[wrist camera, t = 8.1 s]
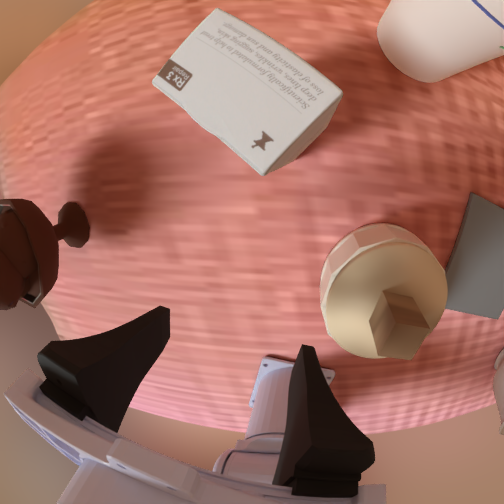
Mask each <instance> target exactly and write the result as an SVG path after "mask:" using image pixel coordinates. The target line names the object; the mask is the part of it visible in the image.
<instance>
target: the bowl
mask: <svg viewBox="0 0 504 504" xmlns="http://www.w3.org/2000/svg"><path fill="white" fill-rule="evenodd" d="M388 242H406V243H410V244H414V245H416V246H419V247H421V248H422V249H424V250H426V251H427V252H428V253H429V254H430V255H432V256H433V257H434V258H435V260H436V261H437V262H438V260H437V259H436V257H435V256H434V254H433V253H432V252H431V250H430V249H429V248H428V246H426V245H425V244H424V243H423V242H422V241H421V240H420V239H419V238H418V237H417V236H416V235H414V234H413V233H411V232H410V231H408V230H406V229H405V228H403V227H400V226H398V225H394V224H390V223H374V224H369V225H365V226H362V227H359V228H357V229H355V230H353V231H351V232H350V233H348V234H347V235H345V236H344V237H343V238H342V239H341V240H339V241H338V242H337V244H336V245H335V246H334V247H333V248H332V250H331V251H330V252H329V254H328V256H327V258H326V260H325V262H324V265H323V267H322V272H321V278H320V305H321V310H322V314H323V317H324V321H325V325H326V329H327V332H328V335H330V336H331V337H332V335H331V333H330V331H329V328H328V324H327V318H326V302H327V296H328V292H329V289H330V287H331V285H332V282H333V281H334V279H335V277H336V276H337V274H338V273H339V272H340V270H341V269H342V268H343V267H344V266H345V265H346V264H347V263H348V262H349V261H350V260H351V259H352V258H353V257H355V256H356V255H358V254H359V253H361V252H362V251H364V250H366V249H368V248H370V247H373V246H376V245H379V244H383V243H388ZM438 263H439V262H438ZM439 264H440V263H439ZM440 266H441V264H440ZM441 268H442V269H443V267H442V266H441ZM443 271H444V274H445V270H444V269H443ZM332 338H333V337H332ZM333 339H334V338H333Z"/></svg>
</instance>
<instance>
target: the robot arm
mask: <svg viewBox="0 0 504 504" xmlns="http://www.w3.org/2000/svg"><path fill="white" fill-rule="evenodd" d="M169 338H170V309H169V308H166V307H163V306H158V307H157V308H155V309H153V310H151V311H149V312H147V313H146V314H144V315H142V316H140V317H138V318H136V319H134V320H132V321H130V322H128V323H126V324H124V325H122V326H119V327H117V328H115V329H112V330H110V331H107V332H104V333H101V334H97V335H93V336H89V337H85V338H80V339H73V340H63V341H51V342H50V343H49V344H48V345H47V346H45V347H44V349H42V350H41V351H40V352H39V353H38V355H37V357H38V362H39V364H40V366H41V368H42V371H43V373H44V374H45V376H46V378H47V379H46V380H45V381H44V382H43V381H42V379H41V378H40V377H38V376H37V375H36V374H35V373H34V372H32V371H31V370H30V369H26V370H25V371H24V372H23V373H22V374H21V375H20V376H19V377H18V379H17V380H16V381H15V382H14V383H13V384H12V385H11V386H10V387H9V388H8V389H7V390H6V391H5V392H4V395H5V397H6V398H7V400H8V401H9V403H10V404H11V405H12V407H13V408H14V409H15V411H16V412H17V413H18V414H19V416H20V417H21V418H22V419H23V420H24V421H25V422H26V423H27V424H28V425H29V426H30V427H31V428H33V429H34V430H35V431H36V432H37V433H38V434H39V435H40V436H42V437H43V438H44V439H45V440H46V441H48V442H49V443H50V444H51V445H52V446H53V447H55V448H56V449H57V450H58V451H60V452H61V453H62V454H64V455H65V456H66V457H68V458H69V459H70V460H72V461H73V462H74V463H76V464H77V465H78V466H79V468H78V470H77V471H76V473H75V474H74V476H73V477H72V479H71V481H70V482H69V484H68V485H67V487H66V489H65V490H64V492H63V493H62V495H61V496H60V498H59V500H58V502H57V503H56V504H386V485H385V484H372V485H362V486H359V487H358V481H360V480H361V473H362V472H363V471H365V470H366V469H367V468H369V467H370V466H371V465H372V464H373V463H374V461H375V452H374V447H373V442H372V441H371V440H370V439H369V438H368V437H366V436H365V435H364V434H363V433H362V432H361V431H360V430H359V429H358V428H357V427H356V426H355V425H354V424H353V422H352V421H351V420H350V419H349V417H348V416H347V415H346V414H345V412H344V411H343V410H342V408H341V407H340V405H339V403H338V402H337V400H336V399H335V397H334V395H333V393H332V391H331V389H330V387H329V385H330V383H331V382H332V380H333V378H334V376H335V371H334V370H330V369H325V368H321V366H320V364H319V361H318V358H317V355H316V351H315V348H314V347H312V346H308V345H303V344H302V346H301V348H300V351H299V354H298V356H297V359H296V361H295V363H294V362H289V361H285V360H280V359H276V358H271V357H263V359H262V362H261V365H260V369H259V372H258V376H257V379H256V382H255V386H254V389H253V392H252V395H251V399H250V402H249V406H250V407H252V408H253V409H252V413H251V417H250V421H249V424H248V428H247V432H246V435H245V439H244V440H237V443H236V447H235V449H227V450H226V451H225V452H223V454H222V455H220V456H219V458H218V459H217V461H216V462H215V465H214V467H213V471H209V470H206V469H203V468H199V467H196V466H193V465H190V464H187V463H184V462H182V461H179V460H176V459H173V458H171V457H168V456H166V455H163V454H161V453H158V452H156V451H153V450H151V449H149V448H146V447H144V446H142V445H140V444H138V443H136V442H133V441H131V440H129V439H127V438H125V437H123V436H121V435H119V434H117V432H118V430H119V427H120V425H121V422H122V420H123V417H124V415H125V413H126V411H127V408H128V406H129V404H130V402H131V400H132V398H133V396H134V394H135V392H136V390H137V388H138V386H139V385H140V383H141V381H142V380H143V378H144V377H145V375H146V374H147V372H148V371H149V370H150V368H151V367H152V365H153V364H154V363H155V361H156V360H157V358H158V357H159V356H160V354H161V353H162V351H163V350H164V348H165V346H166V344H167V342H168V340H169Z"/></svg>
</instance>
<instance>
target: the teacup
mask: <svg viewBox="0 0 504 504" xmlns="http://www.w3.org/2000/svg"><path fill="white" fill-rule="evenodd" d="M494 366H495V369H496V370H497V371H496V373H495V375H494V379H493V391H494V395H495V399H496V403H497V406H498V410H499V414H500V418H501V426H500V429H499V433H500V434H502V435H504V348H503V350H502V351H501V352H500V354H499V355H498V357H497V359H496V361H495V365H494Z"/></svg>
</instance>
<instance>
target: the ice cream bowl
mask: <svg viewBox="0 0 504 504" xmlns="http://www.w3.org/2000/svg"><path fill="white" fill-rule="evenodd" d="M88 235H89V225H88V221H87V218H86V215H85V212H84V211H83V210H82V209H81V208H80V207H79V206H78V205H77V204H76V203H66V204H65V205H64V206H63V207H62V209H61V210H60V211H59V214H58V224H57V225H55V226H52V224H51V222H50V221H49V220H48V219H47V217H46V216H45V215H44V214H43V212H42V211H41V210H40V209H39V208H38V207H37V206H36V205H35V204H34V203H33V202H32V201H29V200H25V199H2V200H0V310H8V309H10V308H13V307H15V306H16V304H17V302H18V300H20V301H22V302H24V303H26V304H28V305H29V306H31V307H33V308H36V306H37V305H38V304H39V303H40V302H41V301H42V299H43V298H44V297H45V296H46V295H47V294H48V292H49V291H50V290H51V289H52V288H53V286H54V284H55V282H56V280H57V277H58V267H59V245H58V241H59V240H61V239H64V240H65V242H66V243H67V244H68V245H69V246H71V247H76V248H81V247H82V246H83V245H84V244H85V243H86V242H87V241H88Z"/></svg>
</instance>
